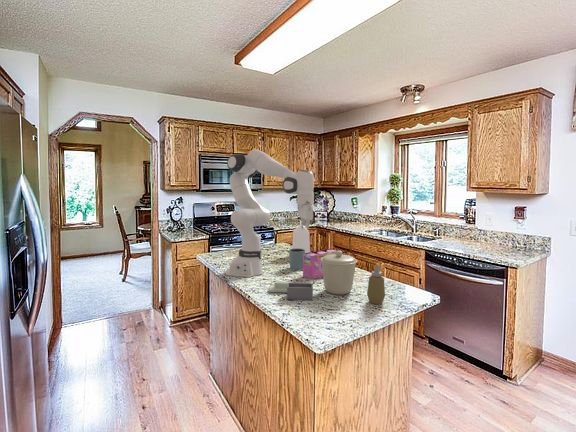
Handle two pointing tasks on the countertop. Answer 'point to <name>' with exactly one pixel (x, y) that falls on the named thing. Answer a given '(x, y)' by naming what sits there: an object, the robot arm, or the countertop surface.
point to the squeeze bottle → (376, 287)
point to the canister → (338, 272)
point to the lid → (279, 287)
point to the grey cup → (296, 259)
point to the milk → (301, 238)
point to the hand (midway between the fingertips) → (305, 226)
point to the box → (300, 291)
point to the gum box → (314, 263)
